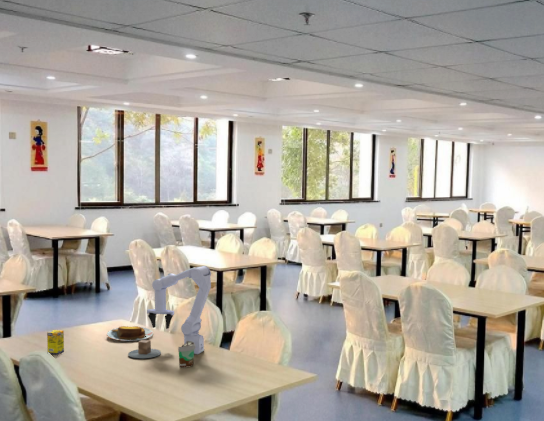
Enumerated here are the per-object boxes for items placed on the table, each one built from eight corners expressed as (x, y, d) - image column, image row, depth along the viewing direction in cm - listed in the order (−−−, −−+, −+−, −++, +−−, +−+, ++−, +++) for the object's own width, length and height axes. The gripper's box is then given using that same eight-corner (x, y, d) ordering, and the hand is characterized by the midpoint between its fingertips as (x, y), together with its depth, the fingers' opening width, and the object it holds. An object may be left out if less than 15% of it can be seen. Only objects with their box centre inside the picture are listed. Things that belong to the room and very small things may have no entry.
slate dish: (166, 351, 339) (166, 349, 339) (151, 360, 324) (151, 358, 324) (138, 349, 344) (138, 347, 344) (122, 358, 329) (122, 356, 329)
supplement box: (57, 354, 335) (57, 333, 334) (47, 354, 337) (46, 332, 336) (64, 351, 341) (63, 330, 340) (54, 350, 342) (53, 329, 342)
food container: (191, 369, 311) (190, 347, 310) (178, 368, 312) (178, 347, 311) (199, 361, 323) (198, 340, 322) (187, 360, 324) (186, 340, 323)
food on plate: (150, 330, 385) (150, 319, 385) (156, 341, 362) (156, 329, 361) (105, 333, 378) (105, 322, 377) (108, 345, 354) (107, 332, 354)
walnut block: (150, 352, 335) (150, 340, 335) (146, 354, 331) (146, 342, 331) (142, 351, 337) (142, 339, 336) (138, 353, 333) (138, 341, 332)
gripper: (144, 302, 344) (144, 328, 345) (169, 304, 340) (170, 330, 341) (150, 300, 351) (150, 325, 352) (175, 301, 347) (176, 327, 348)
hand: (160, 327), depth 347 cm, fingers open, 7 cm apart
